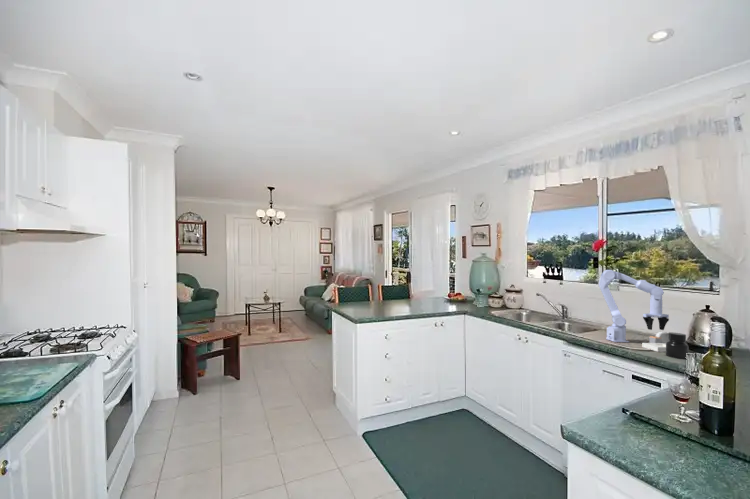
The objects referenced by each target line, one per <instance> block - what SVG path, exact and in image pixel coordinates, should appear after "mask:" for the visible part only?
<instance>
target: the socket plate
mask: <svg viewBox="0 0 750 499" xmlns="http://www.w3.org/2000/svg"><path fill="white" fill-rule="evenodd" d="M641 347H642V348H643V349H648V350H650V349H651V351H654V352H656V353H657V352H658V353H666V343H649V342H642V344H641Z"/></svg>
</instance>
